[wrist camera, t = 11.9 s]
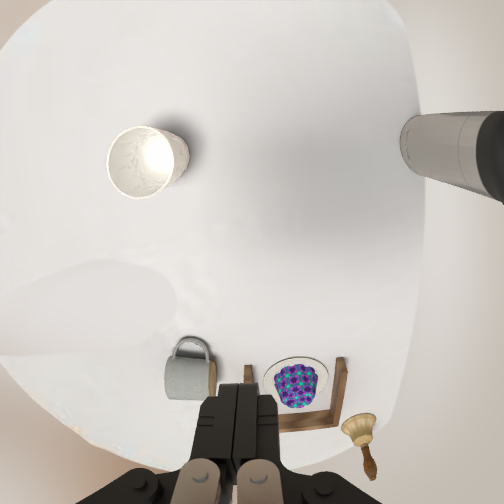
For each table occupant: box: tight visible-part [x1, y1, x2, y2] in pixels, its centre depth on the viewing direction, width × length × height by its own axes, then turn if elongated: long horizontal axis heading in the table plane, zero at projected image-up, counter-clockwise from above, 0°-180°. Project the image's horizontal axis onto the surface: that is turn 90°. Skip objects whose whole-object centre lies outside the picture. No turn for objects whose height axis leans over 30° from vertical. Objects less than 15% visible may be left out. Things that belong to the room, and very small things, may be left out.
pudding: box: [263, 358, 328, 408], centre depth 49 cm, size 12×12×5 cm
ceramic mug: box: [165, 338, 217, 400], centre depth 47 cm, size 11×8×8 cm
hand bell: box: [341, 413, 377, 481], centre depth 49 cm, size 8×8×16 cm
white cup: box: [107, 126, 190, 199], centre depth 34 cm, size 8×8×10 cm
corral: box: [244, 357, 348, 433], centre depth 51 cm, size 17×16×4 cm
